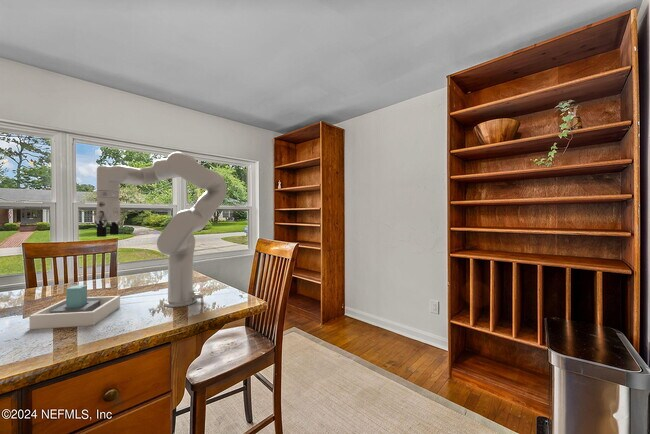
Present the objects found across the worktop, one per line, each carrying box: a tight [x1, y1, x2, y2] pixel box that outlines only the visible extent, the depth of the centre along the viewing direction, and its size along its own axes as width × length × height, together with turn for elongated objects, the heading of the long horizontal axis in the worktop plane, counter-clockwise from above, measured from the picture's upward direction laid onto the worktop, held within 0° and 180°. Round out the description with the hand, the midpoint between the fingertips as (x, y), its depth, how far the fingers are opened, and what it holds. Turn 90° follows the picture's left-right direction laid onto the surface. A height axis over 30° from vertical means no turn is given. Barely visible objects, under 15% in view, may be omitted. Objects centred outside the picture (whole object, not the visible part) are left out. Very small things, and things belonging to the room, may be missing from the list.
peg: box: [65, 284, 88, 308], centre depth 101 cm, size 4×4×10 cm
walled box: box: [28, 295, 121, 330], centre depth 100 cm, size 18×18×4 cm
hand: (108, 235), depth 116 cm, fingers open, 9 cm apart
